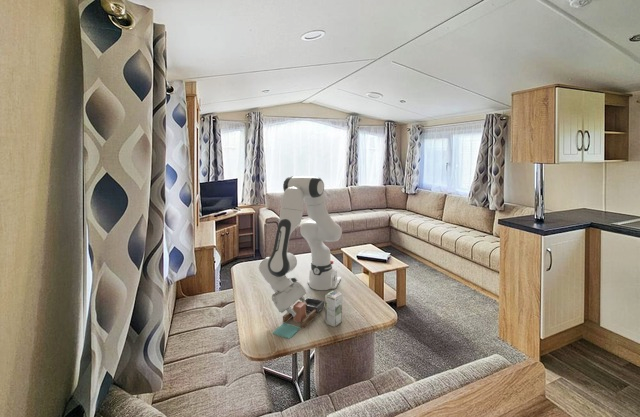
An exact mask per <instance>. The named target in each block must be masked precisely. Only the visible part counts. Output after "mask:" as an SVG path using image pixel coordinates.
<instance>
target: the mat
mask: <svg viewBox="0 0 640 417" xmlns="http://www.w3.org/2000/svg"><path fill="white" fill-rule="evenodd" d="M301 328H302V326H301V327H300V326H296V325H293V324H290V323H287V322H283V323H282V324H280V326H278V327H277V328H276V329H275V330H274V331H273V332H272V333H271V334H273V335H276V336H279V337H282V338H285V339H288V340H290V339H291V338H292V337H293V336H295V335H296V334H297V333H298V331H300V330H301Z"/></svg>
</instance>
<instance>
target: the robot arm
mask: <svg viewBox="0 0 640 417" xmlns="http://www.w3.org/2000/svg"><path fill="white" fill-rule="evenodd" d="M282 187H283V188H282V189H283V194H282V198H281V204H280V210H279V211H280V212H279V219H278V224H277V229H276V234H275V238H274V246H273V251H272V253H271V256H267V257H265V258H264V259H263V260H262V261H261V262H260V263H259V266H258V271H259V273H260V274H261V276H262V277H263V278H264V280H265V281H266V282H267V283H268V284H269V285H270V287H271V289H272V291H273V292H274V293H273V294H271V301H273V304H274V306H275V307H276V309H277V311H278V312H279V313H281V314H283V313H284V312H286V313H287V312H289V313H291V314H292V315H293V316H292V317H294V316H295V315H296V314H297V312H296V311H293V310H292V305H295V304H296V303H297V302H298V301H300V302H304V303H306V302H305V299H306V298H305V295H307V291H306V288H305V287H304V286H303V285H302V283H300V282H299V281H298V279H297V278H296V277H288V276H287V274H288V273H291V272H292V271H294V270H295V268H296V267H297V264H298V260H297V257H296V255H295V254H293V253H292V252H288V250H289V244H290V239H291V235H292V233H293V232H294V231H295V229H297V228H298V227H299V225H300V228H299V230H300V231H299V232H300V235H301V236H302V237H303V239H305V241H306V242H307V244H308V246H309V248H310V253H311V263H310V270H309V276H308V277H309V279H308V280H307V284H308V286H309V288H311V289H313V290H315V291H327V290H331V289H332V290H333V289H337V287H338V285H339V283H340V281H341V279H342V278H341V276H339V275H338V271H337V269H335V268H334V267H333V264H334V260H331V250H330V248H329V247H328V246H327V245H326V244H325V243H324V242H331V243H332V242H338V241H339V240H340V239H341V237H342V234H343V230H342V229H343V228H342V227H341V225H339V224H338V223H337V222H336V221H334V219H333V218H332V217H331V215H330V214H329V211H328V209H327V208H328V207H327V203H326V197H325V193H324V191H325V183H324V181H323V180H322V178H321V177H317V176H308V175H300V176H299V175H298V176H294V175H293V176H291V175H290V176H288V177H286V178H285V180H284V181H283V186H282ZM304 202H305V203H304ZM304 205H305V209H306V212H307V217H308V218H310V219H311V220H306V221H303V222H302V219H303V215H304V214H303V213H304ZM301 222H302V224H301ZM306 305H307V303H306Z"/></svg>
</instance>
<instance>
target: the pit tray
mask: <svg viewBox="0 0 640 417" xmlns="http://www.w3.org/2000/svg"><path fill="white" fill-rule="evenodd" d="M305 302H306V303H307V305H306V312H310V313H311V312H312V311H313V310H316V314H318V313H319V312H320V311H322V309H323V308H325V300H321V299H318V298H314V297H308V296H307V297H306V298H305Z"/></svg>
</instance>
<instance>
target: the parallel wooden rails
mask: <svg viewBox="0 0 640 417" xmlns="http://www.w3.org/2000/svg"><path fill="white" fill-rule="evenodd" d="M291 309H292V310H293V307H291ZM293 317H294V316H293V315H292V314H291V313H289V312H287V311H286V313H285V314H284V315H283V316H282V322H283V323H287V322H288V321H289V320H290V319H292V318H293ZM316 317H317V313H316V310H313V311H312V312H310V313H309V314H307V315H306V318H305V319H303V320H302V322H301V328H303V329H304V328H306V327H307V325H308V324H310V322H311V321H313V320H314V319H315V318H316Z"/></svg>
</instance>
